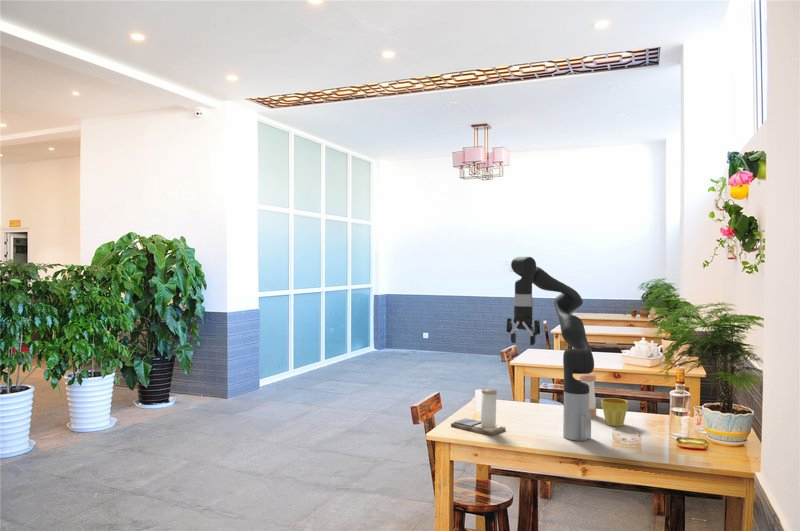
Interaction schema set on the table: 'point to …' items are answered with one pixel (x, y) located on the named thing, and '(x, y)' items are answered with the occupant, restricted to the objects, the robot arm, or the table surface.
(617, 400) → the plant pot
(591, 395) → the pepper shaker
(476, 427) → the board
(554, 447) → the table surface
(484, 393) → the tea canister
